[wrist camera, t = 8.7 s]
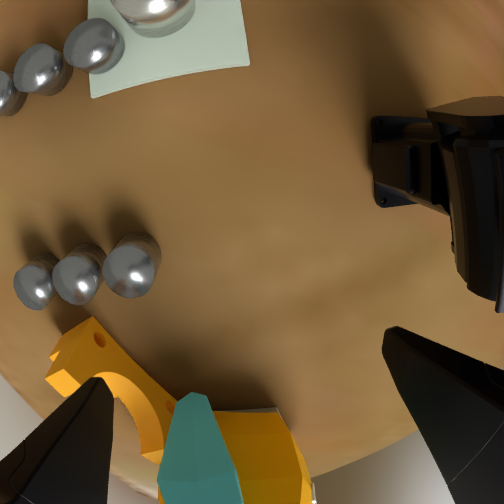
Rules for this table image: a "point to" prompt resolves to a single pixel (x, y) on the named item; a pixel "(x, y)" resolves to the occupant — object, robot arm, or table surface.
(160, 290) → the table surface
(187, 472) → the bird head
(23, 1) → the table surface
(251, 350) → the table surface
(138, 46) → the sage mat
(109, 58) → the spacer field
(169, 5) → the stepped steel cylinder
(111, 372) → the pipe clamp
